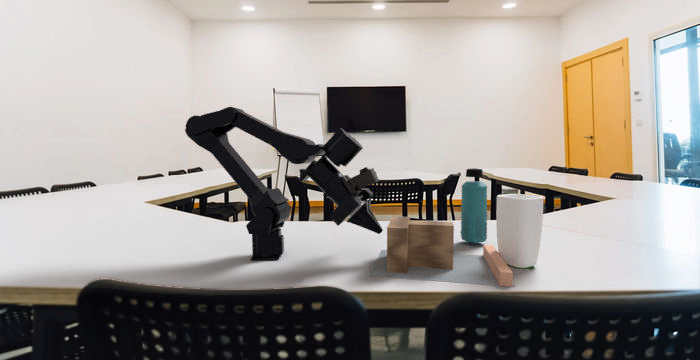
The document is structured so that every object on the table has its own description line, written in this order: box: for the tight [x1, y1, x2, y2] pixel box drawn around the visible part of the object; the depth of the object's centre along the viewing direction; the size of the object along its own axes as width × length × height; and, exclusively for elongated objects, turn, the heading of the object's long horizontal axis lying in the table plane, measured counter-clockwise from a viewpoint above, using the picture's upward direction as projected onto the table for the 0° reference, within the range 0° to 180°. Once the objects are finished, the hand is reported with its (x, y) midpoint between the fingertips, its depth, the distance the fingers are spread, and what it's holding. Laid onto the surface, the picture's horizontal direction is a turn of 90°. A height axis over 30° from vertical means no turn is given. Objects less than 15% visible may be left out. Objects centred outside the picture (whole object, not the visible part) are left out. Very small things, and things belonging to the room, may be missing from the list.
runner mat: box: [369, 244, 516, 288], centre depth 71 cm, size 26×18×3 cm
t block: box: [386, 216, 455, 273], centre depth 71 cm, size 13×12×9 cm
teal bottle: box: [460, 167, 489, 244], centre depth 87 cm, size 6×7×20 cm
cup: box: [495, 193, 544, 269], centre depth 71 cm, size 7×7×15 cm
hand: (381, 232), depth 73 cm, fingers closed
